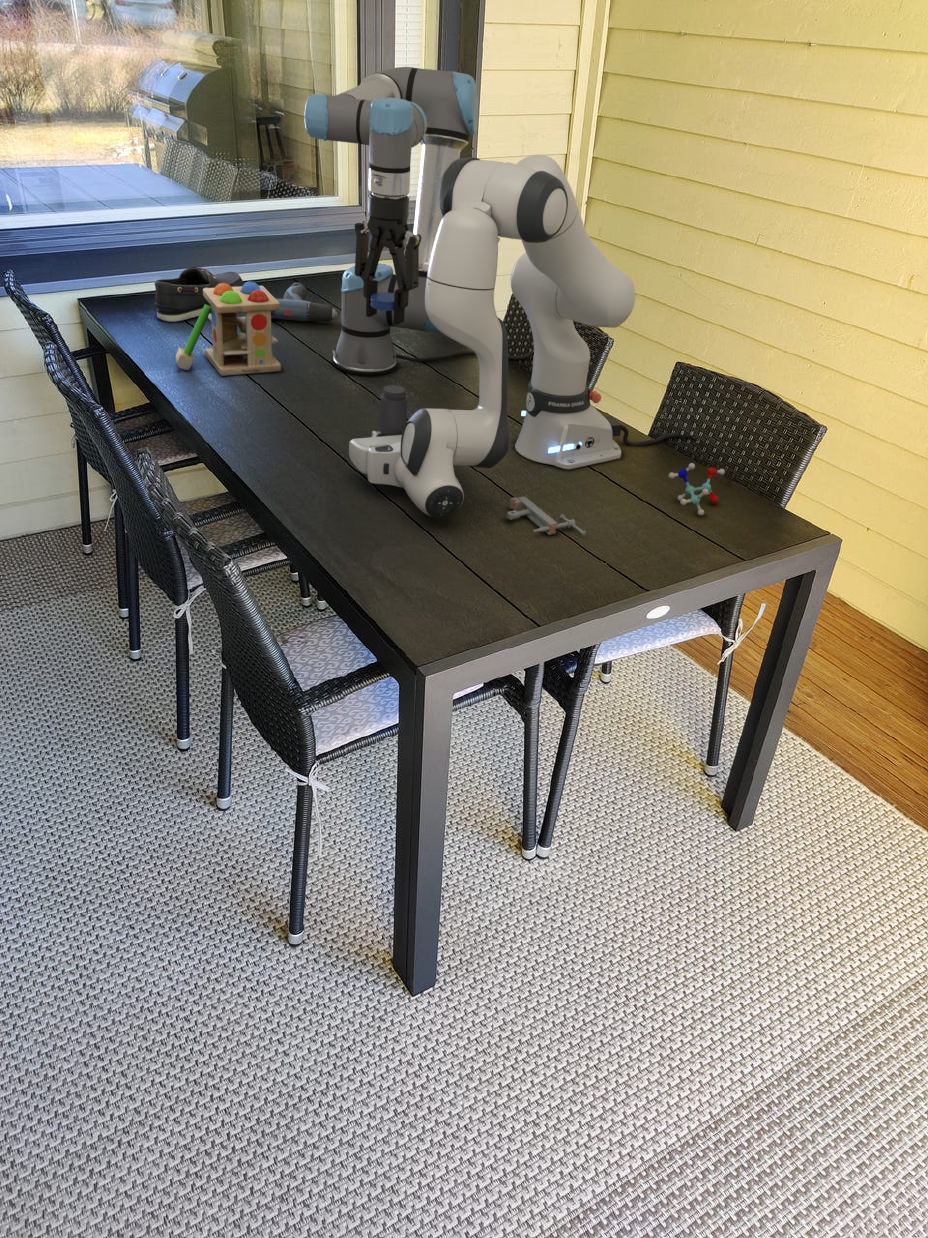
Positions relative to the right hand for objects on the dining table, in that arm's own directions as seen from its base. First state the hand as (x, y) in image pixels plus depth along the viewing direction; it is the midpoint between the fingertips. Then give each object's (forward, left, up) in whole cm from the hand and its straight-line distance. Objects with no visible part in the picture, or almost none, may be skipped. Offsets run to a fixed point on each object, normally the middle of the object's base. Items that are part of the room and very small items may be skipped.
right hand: (390, 432), depth 191 cm
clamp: (-19, +30, -6) cm, 36 cm away
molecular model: (-52, +29, -6) cm, 60 cm away
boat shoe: (+20, -103, -6) cm, 105 cm away
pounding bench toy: (+21, -58, -6) cm, 62 cm away
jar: (0, +1, -6) cm, 7 cm away
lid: (-3, -15, +21) cm, 26 cm away
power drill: (-7, -94, -6) cm, 94 cm away
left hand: (-3, -15, +17) cm, 23 cm away
